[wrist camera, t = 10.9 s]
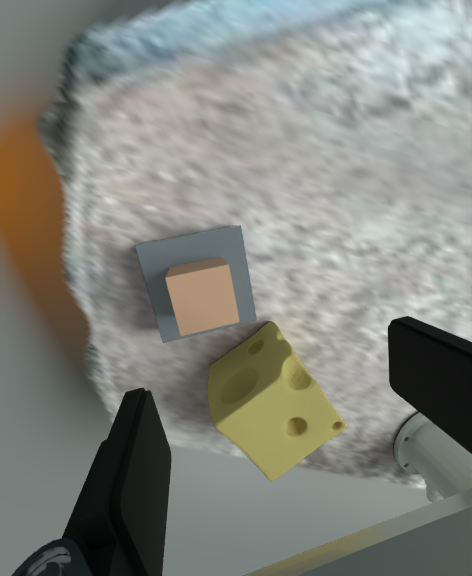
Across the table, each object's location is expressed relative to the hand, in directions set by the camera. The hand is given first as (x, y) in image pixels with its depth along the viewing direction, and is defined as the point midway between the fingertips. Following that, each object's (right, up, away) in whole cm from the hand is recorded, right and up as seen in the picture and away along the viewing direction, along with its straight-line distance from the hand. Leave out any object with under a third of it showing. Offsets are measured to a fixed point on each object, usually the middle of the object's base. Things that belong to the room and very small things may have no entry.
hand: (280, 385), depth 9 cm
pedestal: (-6, +5, +19) cm, 21 cm away
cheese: (+1, -7, +24) cm, 25 cm away
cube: (-5, +4, +15) cm, 17 cm away
